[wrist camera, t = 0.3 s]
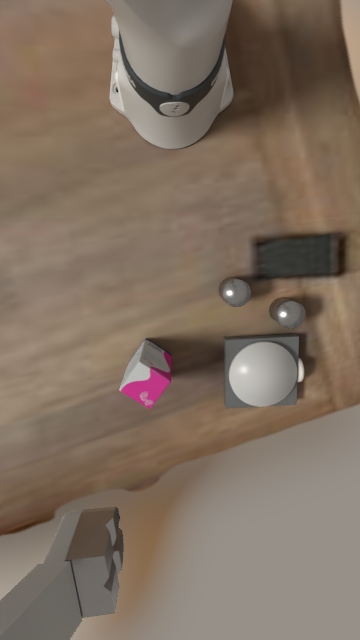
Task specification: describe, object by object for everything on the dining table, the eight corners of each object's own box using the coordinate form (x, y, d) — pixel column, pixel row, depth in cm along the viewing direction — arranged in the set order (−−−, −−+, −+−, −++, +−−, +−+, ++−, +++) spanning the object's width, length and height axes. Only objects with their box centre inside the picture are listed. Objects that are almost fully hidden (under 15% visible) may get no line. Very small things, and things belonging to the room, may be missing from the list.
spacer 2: (269, 298, 55) (279, 302, 50) (294, 297, 55) (306, 301, 50) (269, 322, 56) (278, 329, 51) (293, 321, 56) (305, 327, 51)
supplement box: (127, 363, 57) (117, 390, 46) (145, 337, 56) (139, 358, 45) (154, 380, 58) (150, 410, 47) (172, 355, 57) (172, 379, 46)
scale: (222, 335, 57) (226, 342, 53) (296, 331, 58) (306, 338, 53) (223, 400, 60) (227, 412, 56) (294, 396, 60) (303, 407, 56)
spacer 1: (218, 277, 54) (223, 280, 49) (243, 276, 54) (251, 278, 49) (219, 302, 55) (223, 307, 50) (243, 301, 55) (250, 306, 50)
